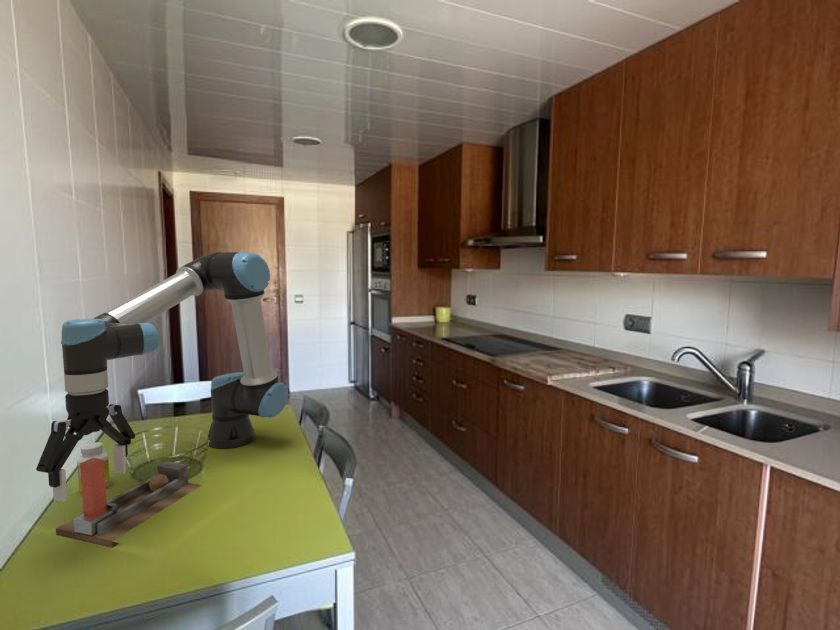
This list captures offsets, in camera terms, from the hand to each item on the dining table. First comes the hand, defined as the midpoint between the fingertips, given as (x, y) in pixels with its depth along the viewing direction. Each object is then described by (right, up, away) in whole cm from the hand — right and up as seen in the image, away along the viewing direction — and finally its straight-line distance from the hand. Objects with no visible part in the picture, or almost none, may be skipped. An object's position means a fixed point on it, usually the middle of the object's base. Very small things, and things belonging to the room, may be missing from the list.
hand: (92, 485), depth 99 cm
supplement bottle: (-14, -10, +20) cm, 26 cm away
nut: (+5, -8, +17) cm, 20 cm away
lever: (0, -9, +1) cm, 10 cm away
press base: (+3, -10, +11) cm, 15 cm away
